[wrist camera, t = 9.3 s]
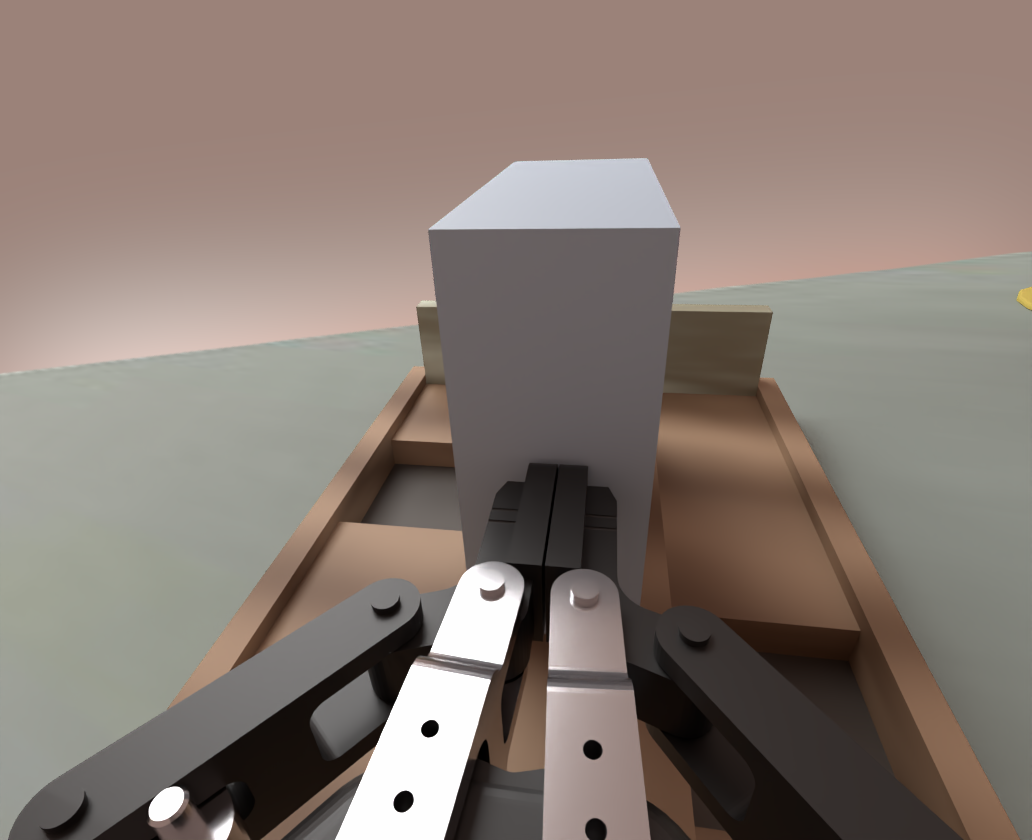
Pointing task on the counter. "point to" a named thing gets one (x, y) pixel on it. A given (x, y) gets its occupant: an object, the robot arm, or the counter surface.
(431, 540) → the lane
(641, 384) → the block
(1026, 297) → the candle
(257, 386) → the counter surface
